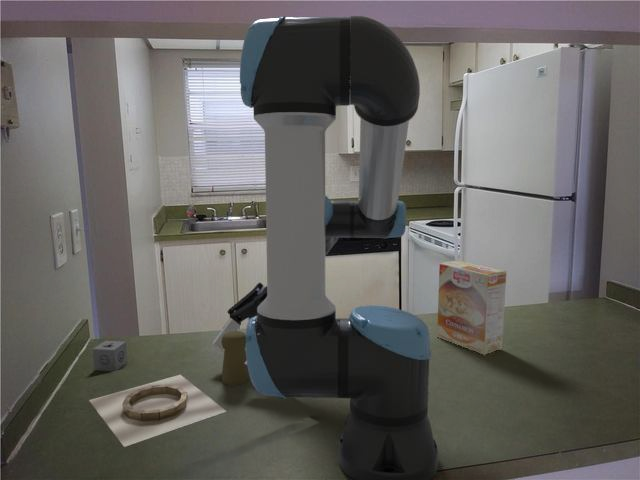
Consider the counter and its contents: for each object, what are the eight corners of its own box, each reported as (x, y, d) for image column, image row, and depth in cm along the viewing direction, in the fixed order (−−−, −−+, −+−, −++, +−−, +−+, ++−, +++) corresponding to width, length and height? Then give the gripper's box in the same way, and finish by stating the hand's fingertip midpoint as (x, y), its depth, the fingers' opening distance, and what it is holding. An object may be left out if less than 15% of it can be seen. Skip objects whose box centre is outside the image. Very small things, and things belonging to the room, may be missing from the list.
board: (226, 417, 92) (226, 411, 92) (124, 453, 81) (124, 446, 81) (180, 379, 108) (180, 374, 108) (89, 406, 97) (88, 400, 97)
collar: (197, 407, 93) (197, 400, 93) (136, 427, 87) (135, 419, 86) (172, 386, 102) (172, 379, 102) (115, 403, 95) (115, 395, 95)
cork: (245, 392, 102) (243, 339, 100) (216, 389, 103) (214, 337, 102) (254, 379, 108) (253, 328, 106) (227, 376, 109) (225, 326, 107)
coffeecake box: (435, 337, 132) (438, 262, 129) (455, 332, 136) (458, 259, 133) (483, 356, 120) (487, 274, 116) (503, 350, 123) (507, 270, 120)
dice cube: (94, 370, 113) (92, 349, 112) (106, 361, 118) (105, 340, 117) (116, 371, 112) (114, 350, 111) (127, 362, 117) (125, 341, 116)
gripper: (338, 295, 104) (277, 386, 97) (271, 273, 123) (216, 348, 117) (317, 273, 100) (252, 367, 93) (251, 254, 119) (193, 330, 113)
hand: (232, 356), depth 105 cm, fingers open, 13 cm apart
